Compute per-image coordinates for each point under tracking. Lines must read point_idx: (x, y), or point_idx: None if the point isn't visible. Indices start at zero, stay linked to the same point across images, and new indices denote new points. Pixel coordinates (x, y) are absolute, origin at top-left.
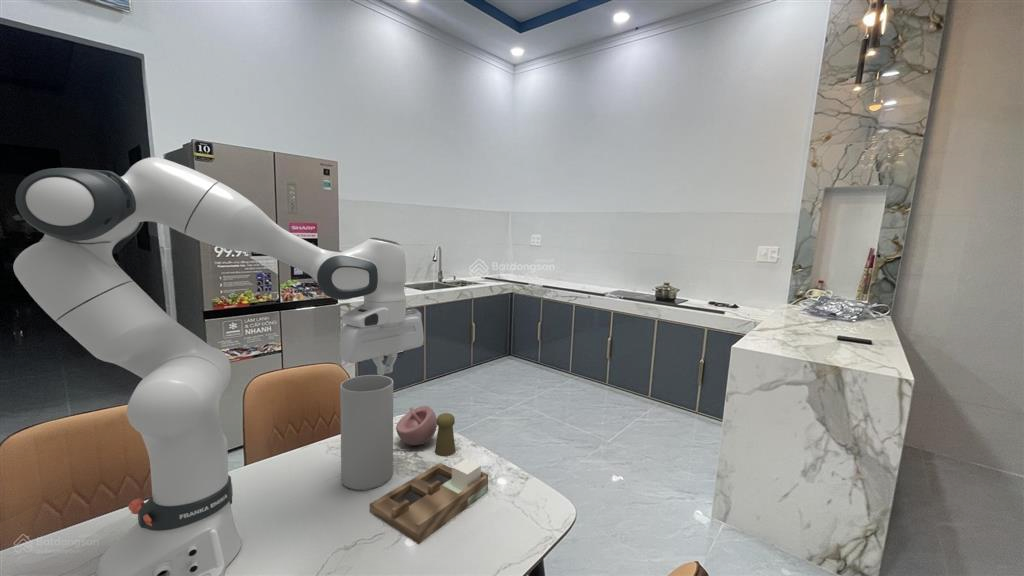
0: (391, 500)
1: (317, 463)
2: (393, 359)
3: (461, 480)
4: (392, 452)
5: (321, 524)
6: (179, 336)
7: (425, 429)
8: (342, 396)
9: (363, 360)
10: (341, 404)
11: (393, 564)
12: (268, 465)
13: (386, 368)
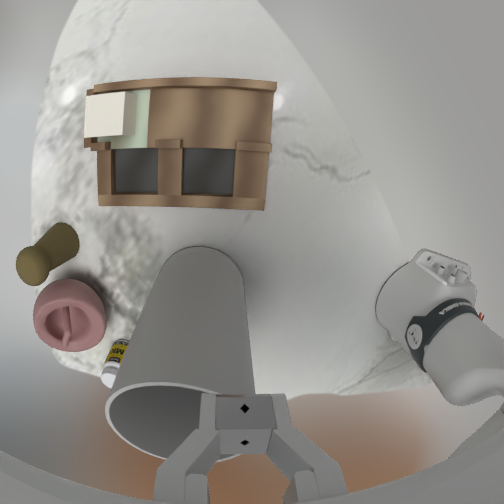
0: (236, 186)
1: None
2: (194, 461)
3: (130, 108)
4: (163, 274)
5: (319, 241)
6: None
7: (68, 288)
8: None
9: (470, 449)
10: None
11: (320, 92)
12: None
13: (255, 420)
